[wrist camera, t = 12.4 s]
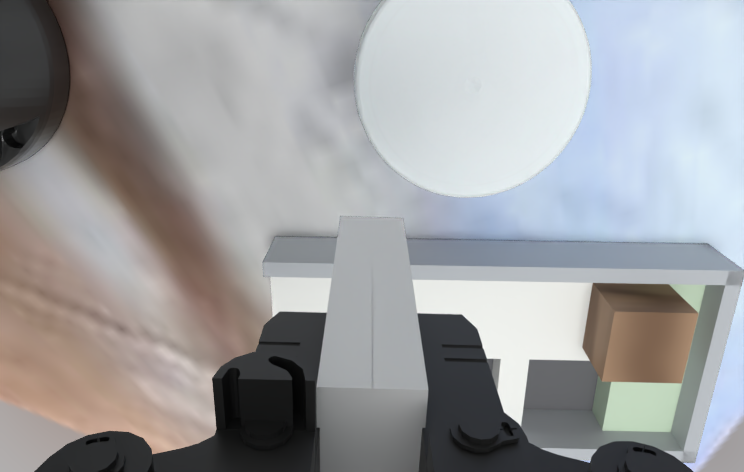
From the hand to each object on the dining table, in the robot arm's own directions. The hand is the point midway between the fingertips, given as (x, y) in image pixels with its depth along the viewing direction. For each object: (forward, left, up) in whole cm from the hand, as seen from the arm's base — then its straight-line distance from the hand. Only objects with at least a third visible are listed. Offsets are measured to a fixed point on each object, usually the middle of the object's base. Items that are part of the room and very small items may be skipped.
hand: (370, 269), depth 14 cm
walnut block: (+17, -13, -22) cm, 31 cm away
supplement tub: (+4, +3, -25) cm, 26 cm away
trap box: (+8, -16, -25) cm, 31 cm away
